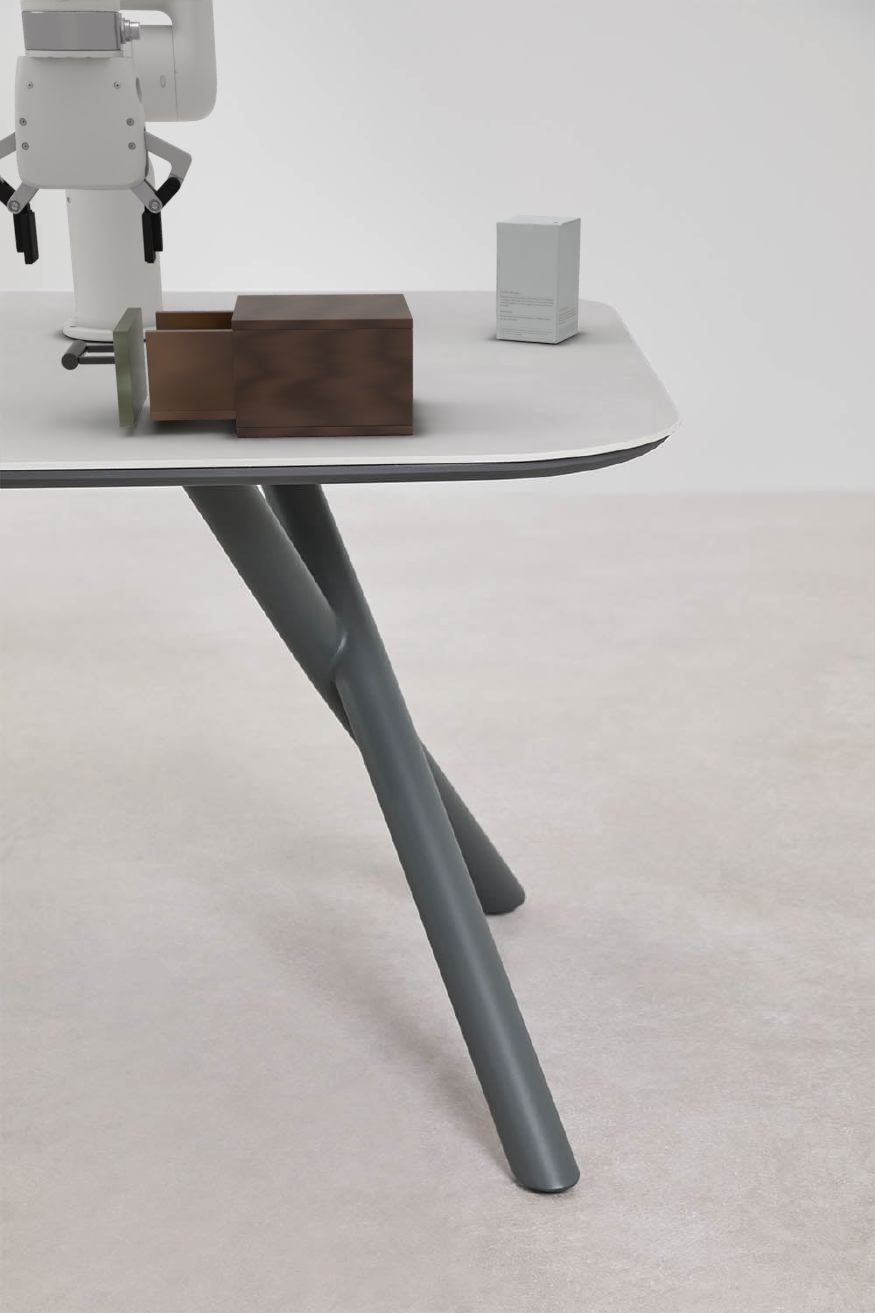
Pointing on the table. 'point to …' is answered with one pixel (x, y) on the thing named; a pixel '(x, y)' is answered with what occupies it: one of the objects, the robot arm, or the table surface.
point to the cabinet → (323, 365)
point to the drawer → (169, 365)
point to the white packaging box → (537, 278)
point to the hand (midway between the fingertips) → (91, 261)
